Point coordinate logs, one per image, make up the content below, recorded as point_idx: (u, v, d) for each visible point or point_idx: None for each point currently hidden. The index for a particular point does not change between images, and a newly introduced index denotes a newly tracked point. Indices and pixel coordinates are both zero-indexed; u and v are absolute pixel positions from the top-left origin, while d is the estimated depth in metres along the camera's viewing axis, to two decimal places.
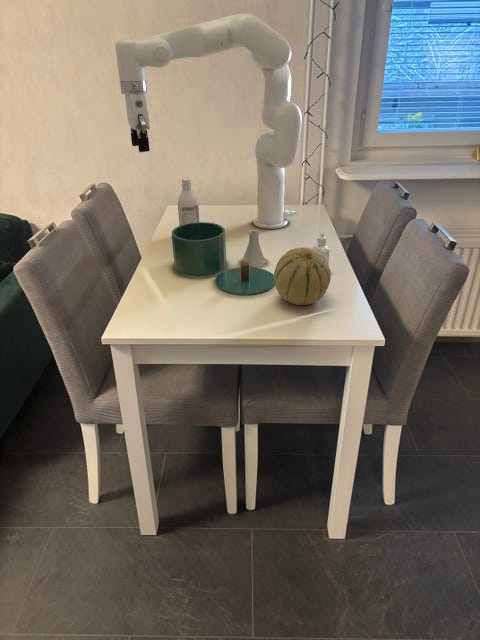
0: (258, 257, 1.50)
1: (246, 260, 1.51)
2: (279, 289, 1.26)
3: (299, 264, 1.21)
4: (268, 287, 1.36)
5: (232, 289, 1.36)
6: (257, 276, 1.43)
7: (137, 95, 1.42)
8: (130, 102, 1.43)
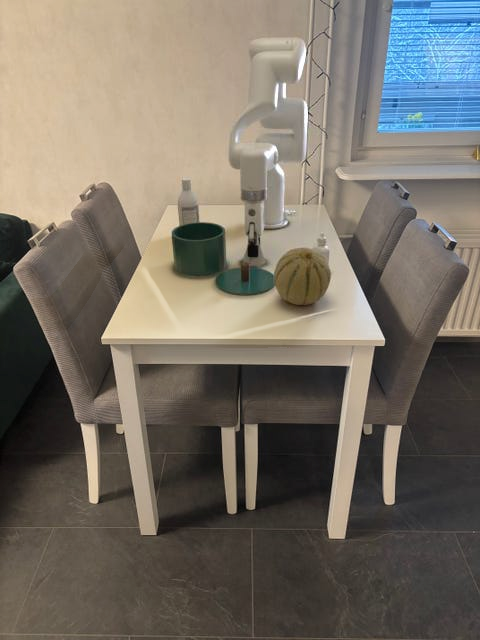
0: (258, 257, 1.50)
1: (246, 260, 1.51)
2: (279, 289, 1.26)
3: (299, 264, 1.21)
4: (268, 287, 1.36)
5: (232, 289, 1.36)
6: (257, 276, 1.43)
7: (251, 204, 1.40)
8: None
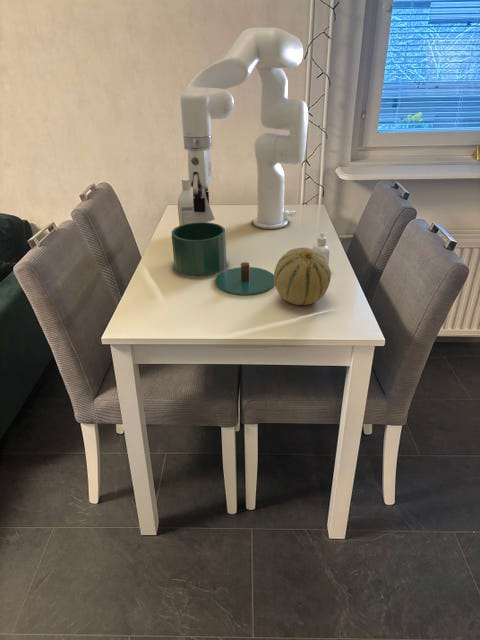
0: (206, 212, 1.41)
1: (193, 216, 1.42)
2: (279, 289, 1.26)
3: (299, 264, 1.21)
4: (268, 287, 1.36)
5: (232, 289, 1.36)
6: (257, 276, 1.43)
7: (194, 152, 1.31)
8: (188, 159, 1.33)
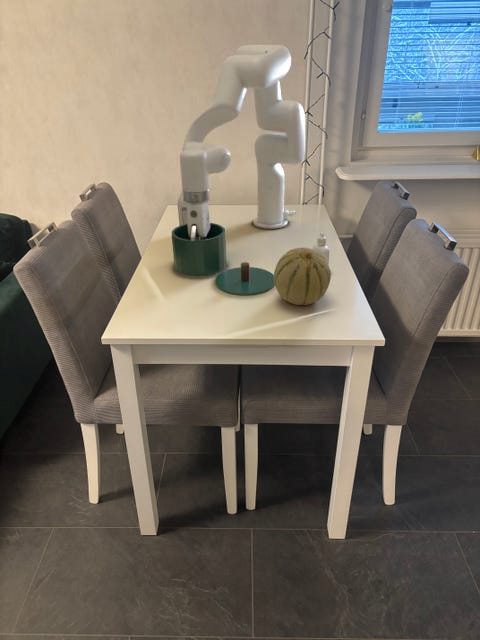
0: None
1: None
2: (279, 289, 1.26)
3: (299, 264, 1.21)
4: (268, 287, 1.36)
5: (232, 289, 1.36)
6: (257, 276, 1.43)
7: (193, 206, 1.38)
8: None
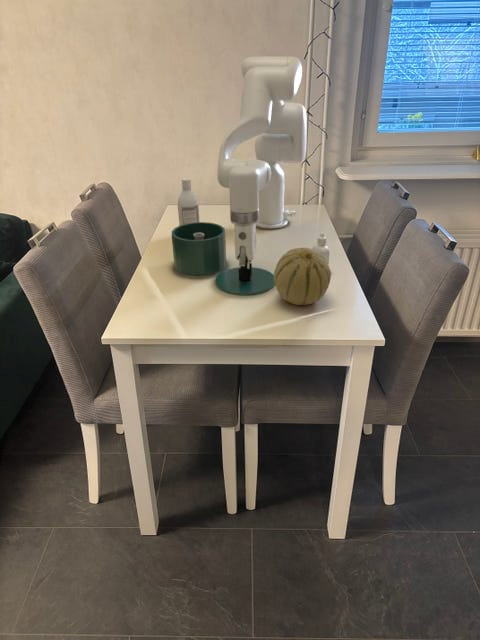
0: None
1: None
2: (279, 289, 1.26)
3: (299, 264, 1.21)
4: (268, 287, 1.36)
5: (232, 289, 1.36)
6: (257, 276, 1.43)
7: (242, 227, 1.29)
8: None
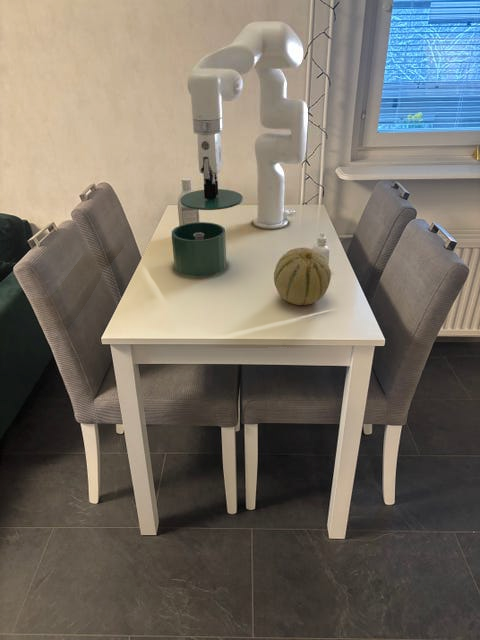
0: None
1: None
2: (279, 289, 1.26)
3: (299, 264, 1.21)
4: (234, 203, 1.33)
5: (197, 205, 1.32)
6: (224, 195, 1.39)
7: (204, 136, 1.25)
8: None
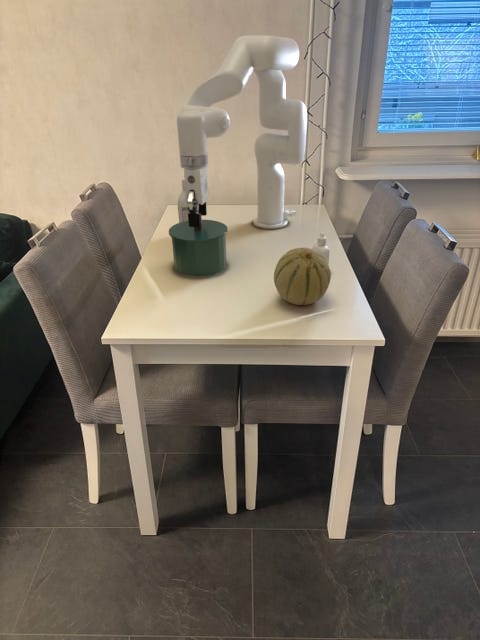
0: None
1: None
2: (279, 289, 1.26)
3: (299, 264, 1.21)
4: (218, 235, 1.41)
5: (183, 237, 1.40)
6: (210, 226, 1.47)
7: (190, 170, 1.33)
8: (184, 177, 1.35)
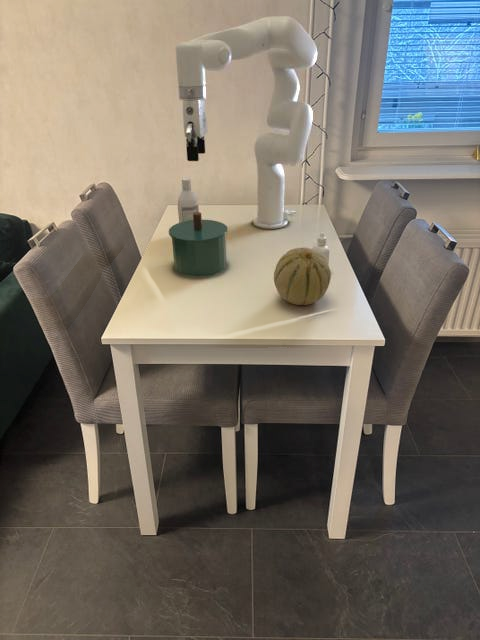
0: None
1: None
2: (279, 289, 1.26)
3: (299, 264, 1.21)
4: (218, 235, 1.41)
5: (183, 237, 1.40)
6: (210, 226, 1.47)
7: (189, 101, 1.34)
8: (183, 108, 1.36)
